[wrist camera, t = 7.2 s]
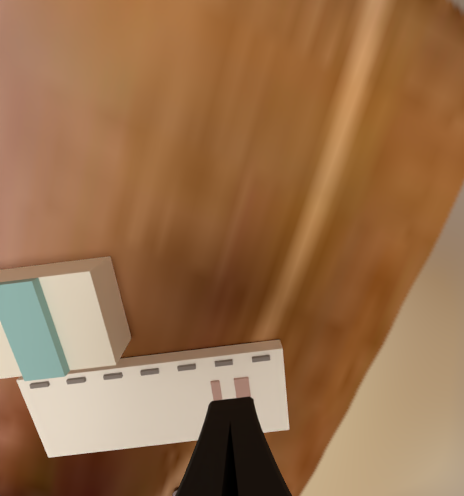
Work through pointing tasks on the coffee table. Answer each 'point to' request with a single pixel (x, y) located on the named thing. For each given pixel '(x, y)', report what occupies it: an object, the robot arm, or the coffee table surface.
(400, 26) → the coffee table surface
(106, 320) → the white and teal box
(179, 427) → the board
